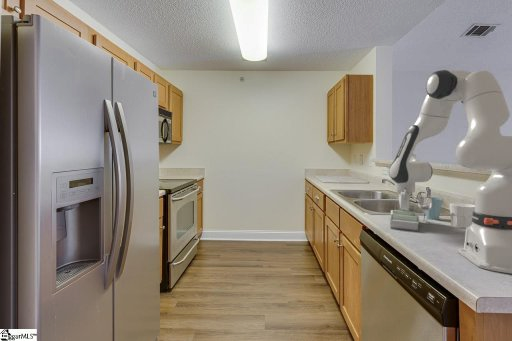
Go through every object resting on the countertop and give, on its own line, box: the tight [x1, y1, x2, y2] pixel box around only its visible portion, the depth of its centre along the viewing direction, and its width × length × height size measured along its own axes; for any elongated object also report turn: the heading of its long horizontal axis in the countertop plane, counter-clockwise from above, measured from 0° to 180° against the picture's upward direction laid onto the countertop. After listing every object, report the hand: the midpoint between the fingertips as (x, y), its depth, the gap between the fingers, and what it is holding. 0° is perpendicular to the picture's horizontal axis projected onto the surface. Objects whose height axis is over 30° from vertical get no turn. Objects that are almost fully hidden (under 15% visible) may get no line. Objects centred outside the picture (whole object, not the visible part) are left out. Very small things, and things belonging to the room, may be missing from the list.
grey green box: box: [390, 209, 420, 224], centre depth 139 cm, size 12×11×5 cm
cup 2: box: [449, 202, 475, 229], centre depth 139 cm, size 10×10×10 cm
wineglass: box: [417, 196, 432, 224], centre depth 146 cm, size 6×6×12 cm
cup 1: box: [425, 196, 443, 221], centre depth 155 cm, size 8×8×10 cm
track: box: [389, 216, 420, 232], centre depth 141 cm, size 23×11×4 cm, turn 157°
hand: (403, 215), depth 147 cm, fingers closed
